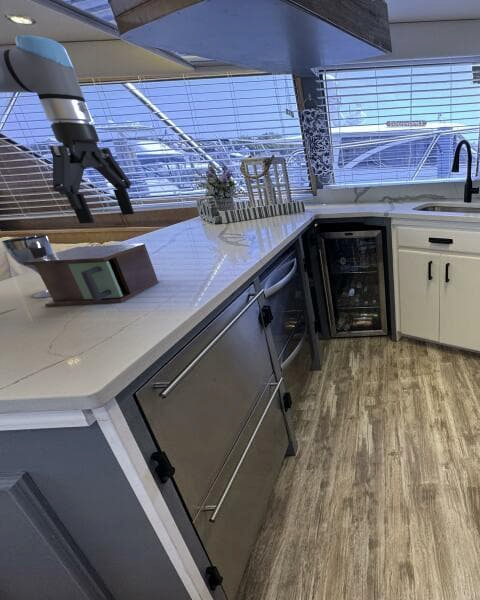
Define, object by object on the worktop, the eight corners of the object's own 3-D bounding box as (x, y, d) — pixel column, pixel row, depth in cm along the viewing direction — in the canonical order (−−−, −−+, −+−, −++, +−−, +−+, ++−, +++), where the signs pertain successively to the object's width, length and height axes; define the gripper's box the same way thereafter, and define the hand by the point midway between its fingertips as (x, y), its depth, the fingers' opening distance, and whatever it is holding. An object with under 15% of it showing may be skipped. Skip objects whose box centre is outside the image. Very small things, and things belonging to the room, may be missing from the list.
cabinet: (46, 306, 79) (22, 262, 74) (94, 285, 92) (76, 246, 88) (121, 302, 80) (103, 257, 75) (158, 282, 93) (144, 243, 88)
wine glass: (25, 296, 86) (-5, 241, 80) (62, 286, 93) (37, 234, 87) (40, 299, 83) (10, 242, 77) (78, 289, 90) (53, 236, 84)
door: (68, 306, 75) (49, 269, 72) (86, 298, 80) (70, 262, 76) (107, 304, 76) (90, 267, 72) (123, 296, 80) (108, 260, 77)
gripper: (36, 115, 62) (83, 226, 70) (128, 128, 84) (155, 210, 93) (-5, 116, 61) (47, 228, 70) (98, 129, 84) (129, 212, 93)
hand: (109, 218), depth 81 cm, fingers open, 13 cm apart
